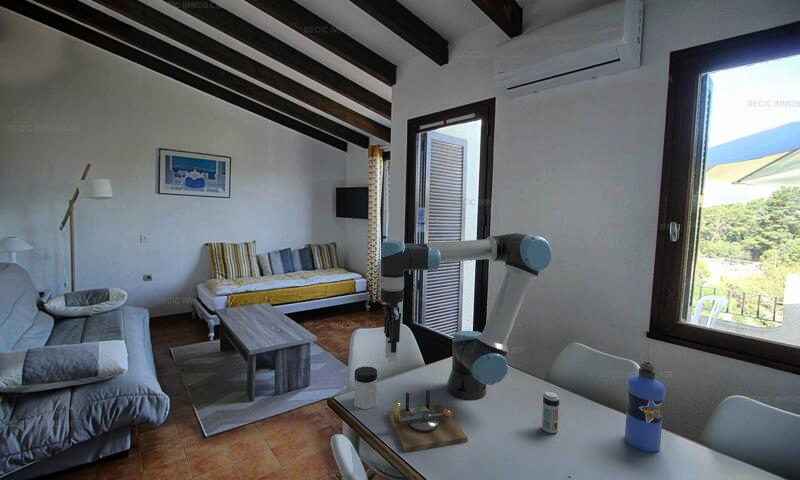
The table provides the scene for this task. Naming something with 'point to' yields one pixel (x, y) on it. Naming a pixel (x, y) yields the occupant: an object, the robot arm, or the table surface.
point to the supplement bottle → (550, 412)
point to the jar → (365, 387)
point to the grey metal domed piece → (420, 419)
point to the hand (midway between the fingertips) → (391, 358)
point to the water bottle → (644, 410)
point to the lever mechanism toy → (417, 440)
